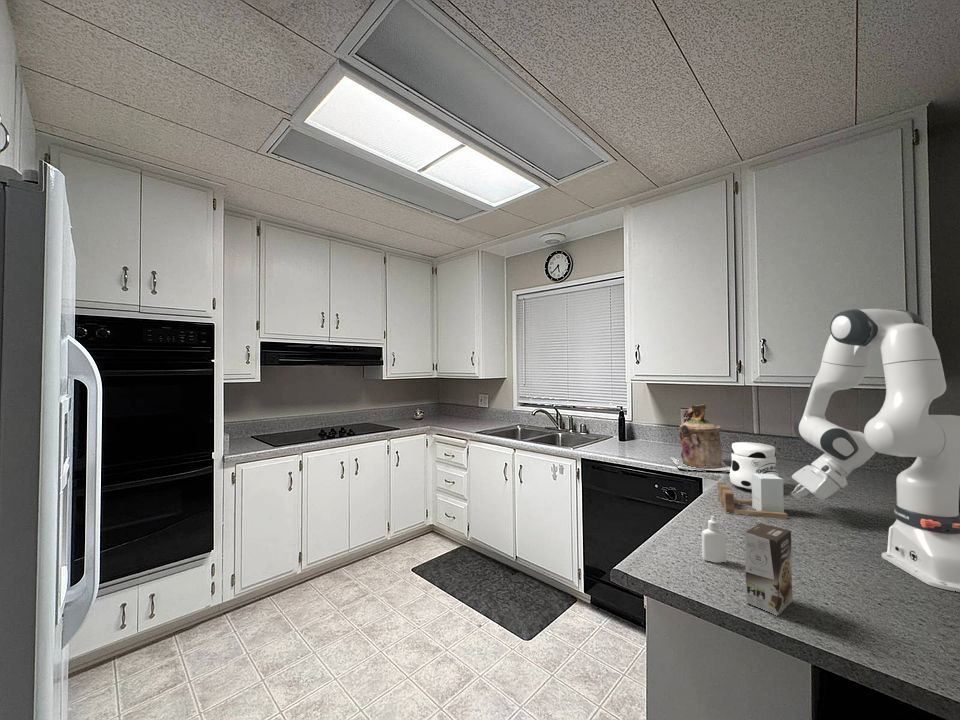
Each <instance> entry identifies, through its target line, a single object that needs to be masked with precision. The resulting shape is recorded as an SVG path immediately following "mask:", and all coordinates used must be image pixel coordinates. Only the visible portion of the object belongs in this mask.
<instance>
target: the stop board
mask: <svg viewBox="0 0 960 720" xmlns="http://www.w3.org/2000/svg"><path fill="white" fill-rule="evenodd" d="M717 485H718V486H717V488H718V489H717V491H718V495H717V496H718V503H719V502H720V503H721V504H720V503H719V504H720V506H721V505H722V506H721V508H722V507H723V508H724V509H723V508H722V509H723V511H724V510H725V511H726V512H727V510H728V509H730V510H734V508H735V504H734V499H735V498H734V497H735V496H734V492H732V490H731V489H730V487H729V486H728V485H727V483H724V482H722V483H721V482H718V483H717ZM725 511H724V512H725ZM728 511H729V510H728ZM729 513H731V512H729ZM729 513H728V514H729Z"/></svg>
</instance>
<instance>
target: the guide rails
mask: <svg viewBox="0 0 960 720" xmlns="http://www.w3.org/2000/svg"><path fill="white" fill-rule="evenodd" d="M734 503H740V504H739V505H742V504H749V505H748V506H752V499H743V498H734ZM728 510H729V511H728ZM728 510H727V512H731V513H738V514H737V515H739V514H748V515H747V516H750V515H754V516H753V517H760V516H764V518H772V519H780V520H781V519H783V520H788V518H789V517H788V516H789V515H788V514H787V512H784V513H779V512H768V511H757V510H755V509H744V508H735V507H734V510H730V509H728Z"/></svg>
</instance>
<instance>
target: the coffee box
mask: <svg viewBox="0 0 960 720" xmlns="http://www.w3.org/2000/svg"><path fill="white" fill-rule="evenodd" d="M744 540H745V541H744V545H745V546H744V547H745V549H744V550H745V551H744V553H745V554H744V555H745V559H744V560H745V561H744V563H745V565H744V566H745V603H746V602H747V603H750V604H752V605H754V606H756V607H758V608H757V609H759V608H761V609H763V610H765V611H764V612H766V611H768V612H770V613H772V614H771V615H773V614H774V615H773V616H775V615H776V616H775V617H778V616H779V615H780V614H782V612H783V611H785V609H787V606H788V607H789V606H790V605H791V604H792V602H793V566H792V565H793V564H792V563H793V562H792V561H793V560H792V530H789V529H786V528H782V527H779V526H774V525H769V524H765V523H761V522H759V523H758V524H756V525H755V526H753V527H752V528H749V529H748V530H746V531H745V532H744ZM747 603H746V604H747ZM752 605H751V606H752ZM754 606H753V607H754ZM756 607H755V608H756ZM761 609H760V610H761ZM763 610H762V611H763ZM768 612H767V613H768ZM770 613H769V614H770ZM777 615H778V616H777Z"/></svg>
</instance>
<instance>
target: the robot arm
mask: <svg viewBox="0 0 960 720" xmlns="http://www.w3.org/2000/svg"><path fill="white" fill-rule="evenodd" d="M924 324H925V323H924V321H923V319H922V318H921V316H919V314H917V313H915V312H912V311H910V310H909V311H908V310H905V309H904V310H903V309H886V308H885V309H884V308H883V309H882V308H864V309H863V308H862V309H857V308H856V309H855V308H852V309H847V310H843V311H840V312H838V313H836V314H835V315H834V316H833V318H832V319H831V321H830V326H829V331H830V335H829V337H828V339H827V342H826V344H825V347H824V350H823V352H822V353H823V354H822V358H821V364H820V367H819V370H818V372H817V374H816V375H815V376H814V377H813V378H812V381H811V383H810V386H809V389H808V391H807V395H806V398H805V401H804V404H803V407H802V411H801V412H800V414H799V415H798V417H797V419H796V420H795V422H794V425H793V431H794V434H795V435H796V437H798V439H800V440H802V441H803V442H806V443H807V444H808V443H809V444H810V445H812V446H813V447H815V448H816V449H819V450H820V451H822V452H823V454H822V455H820V456H819V457H818V458H816V459H815V460H813V462H811V463H810V464H811V465H809V464H807V465H805V466H803V467H802V468H800V469H798V470H797V471H795V472H794V473H793V474H792V476H791V479H793V480H794V481H795V483H797V485H796V486H795V488H794V490H792V491H791V492H790V495H791V496H792V497H793V498H795V499H796V500H799V499H801V498H803V497H804V496H808V495H809V494H812V495H813V496H814V497H816V498H817V499H818V500H820V501H821V500H825V499H827V498H829V497H830V496H832V495H833V494H835V493H836V492H838V491H839V490H840V488H843V489H844V488H845V487H847V486H848V482H847V477H848V476H849V475H850V474H851V472H852V471H853V470H855V469H858V468H860V467H861V466H863V465H864V464H865V463H866V462H867V461H869V460H870V459H872V457H873V456H874V455H875V453H879V454H884V455H887V456H895V457H900V458H901V457H902V458H916V459H915V460H914V462H913V463H912V464H911V466H909V467H908V468H906V469H904V470H902V471H901V472H900V473H898V474H897V476H896V478H895V479H896V480H895V481H896V482H895V483H896V503H895V504H894V508H893V512H894V518H895V521H894V522H893V524H892V525H890V526H889V527H888V535H887V536H888V538H887V551H884V552H881V556H880V557H881V558H882V559H883V560H885V561H887V562H889V563H890V564H892V565H894V567H895V566H896V567H897V568H899V569H901V570H903V571H904V572H906V573H908V574H909V575H911V576H913V578H915V579H918V580H919V581H920V582H923V583H925V584H926V585H928V586H931V587H935V588H938V589H942V590H947V591H951V592H955V591H956V593H960V512H959V511H960V510H959V509H960V508H959V507H960V506H959V505H960V415H957V414H956V415H954V414H929V410H930V409H929V408H930V405H931V404H932V402H933V401H934V400H935V399H938V398H940V397H941V396H942V395H943V394H945V392H946V390H947V382H946V378H945V372H944V367H943V363H942V359H941V353H940V350H939V348H938V344H937V343H936V339H935V337H934V336H933V333H932V331H931V330H930V328H929V327H927V326H926V325H924ZM874 348H877V349H878V350H879V351H880V354H881V362H882V367H883V373H884V381H885V389H886V390H885V399H884V401H883V405H882V406H881V408H880V410H879V412H877V414H876V415H874V417H871V419H869V420H868V421H867V422H866V424H865V426H864V429H863V432H861V431H859V430H856V431H854V430H850V429H847V428H844V427H842V426H839V425H838V424H835V423H832V422H831V421H829V420H828V419H827V418H826V415H825V414H826V411H827V409H828V405H829V402H830V399H831V397H832V396H833V394H834V393H835V392H837V391H843V390H844V391H845V390H850V389H852V388H856V387H857V386H858V385H860V384H861V383H862V381H863V380H864V378H865V376H866V372H867V366H868V362H869V361H868V360H869V357H870V356H869V355H870V352H871V351H872V350H873V349H874Z"/></svg>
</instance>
